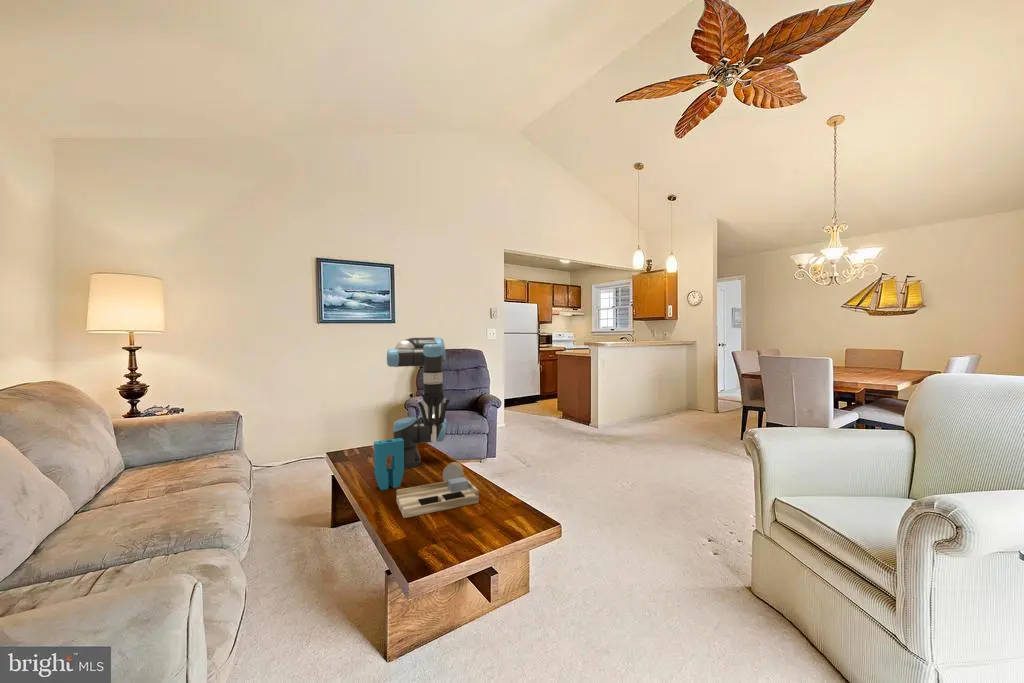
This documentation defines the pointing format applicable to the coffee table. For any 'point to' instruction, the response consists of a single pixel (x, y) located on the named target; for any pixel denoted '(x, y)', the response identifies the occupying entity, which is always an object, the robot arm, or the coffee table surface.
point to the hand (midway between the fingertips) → (433, 441)
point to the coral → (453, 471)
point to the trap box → (434, 498)
